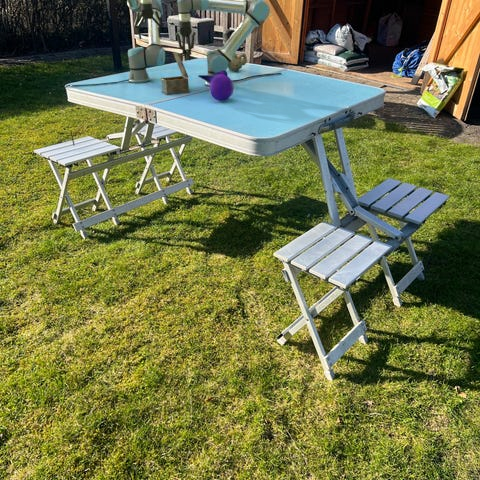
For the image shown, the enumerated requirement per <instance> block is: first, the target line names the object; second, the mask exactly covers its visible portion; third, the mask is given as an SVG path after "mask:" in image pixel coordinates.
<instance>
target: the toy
mask: <svg viewBox="0 0 480 480" xmlns="http://www.w3.org/2000/svg"><path fill="white" fill-rule="evenodd" d="M198 77H199V78H200V79H202V80H204V81H205V82H206V81H208V82H209V83H210V86H209V92H210V95H211V97H212V98H213V99H214V100H217V101H220V102H225V101H227V100H229V99H230V97H232V95H233V94H234V90H235V89H234V82H232V80H233V79H232V78H231V77H229V75H228V73H227V70H226V71H224V70H223V71H220V72H217V74H216V76H210V75H208V74H205V75H204V74H202V75H200V74H199V75H198Z"/></svg>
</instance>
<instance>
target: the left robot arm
mask: <svg viewBox="0 0 480 480" xmlns="http://www.w3.org/2000/svg"><path fill="white" fill-rule="evenodd" d="M126 4H127V6H128V8H129V9H130V10H131V11H132V12H133V13H136V17H135V21H134V23H133V28H134V29H136V34H138V39H139V40H142V33H141V28H140V27H141V25H142V24H143V22H144V20H147V31H148V32H147V33H148V45H147V46H146V48H144V47H143V46H138V47H132V48H130V49H128V50H127V56H128V57H127V58H128V64H129V65H128V66H129V76H128V79H124V80H120V81H113V82H101V83H90V84H89V83H88V84H67V85H65V87H64V89H67V87H87V86H101V85H110V84H111V85H112V84H119V83H124V82H129V83H133V84H141V83H148V82H150V76H149V74H148V71H147V67H160V66H163V65H165V61H166V49H165V48H163V45H162V44H161V35H162V34H161V33H162V31H163V30H162V27H163V26H164V23H163V21H162V18H161V17H162V15H163V14H164V10H163V5H162V0H126ZM140 16H141V18H140ZM139 19H140V20H139ZM70 85H72V86H70ZM69 131H70V136H71V140H72V146H75V141H74V136H73V132H72V130H69Z"/></svg>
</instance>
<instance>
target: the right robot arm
mask: <svg viewBox="0 0 480 480" xmlns="http://www.w3.org/2000/svg"><path fill="white" fill-rule="evenodd" d="M176 2H177V13H178V21H179V22H178V27H179V30H178V32H176V33H175V36H176V37H177V43H178V47H179V49H180V50H182V53H183V54H182V55H184V54H186V51H188V52H190V54H187V55H185V56H183V59H184V61H185V62H187V61H191V56H192V50H193V49H195V48H194V47H195V36H196V34H197V33H196V32H195V31H193V29H192V21H191V11H211V12H220V13H221V12H222V13H229V14H238V15H242V16H243V17H244V19H243V20H242V21H241V22H240V24H239V25H238V27H236V29H235V31H233V33H232V34H231V35H230V37H229V38H228V39H227V40H226V42H225V43H224V44H223V46H222V47H219V48H218V49H216V50H207V51H206V63H207V64H206V65H207V75H210V76H216V74H217V72H220V71H223V70H224V71H226V72H227V69H228V65H229V64H230V62H231V61H232V56H233V55H234V53H235V54H236V52H237V51H238V50H239V48H240V47H241V46H242V45H243V43H244V42H245V41H246V40H247V39H248V37H249V36H250V34H251V33H252V32H253V31H254V29H255V28H256V27H260V26H261V24H262V23H263V22H264V21H266V20H267V19H268V18H269V16H270V13H271V9H270V6H269V4H268V2H266V1H265V0H177V1H176ZM186 41H187V49H186ZM275 75H282V72H275V73H265V74H255V75H251V76H247V77H244V78H240V79H231V80H232V82H233V83H235V82H241V81H244V80H247V79H251V78H256V77H267V76H275ZM205 86H206V87H210V83H209V82H208V81H206V80H205Z"/></svg>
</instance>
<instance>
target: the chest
mask: <svg viewBox="0 0 480 480" xmlns="http://www.w3.org/2000/svg"><path fill="white" fill-rule="evenodd" d="M160 79H161V87H162V88H161V89H162V93H164V94H165V95H167V96H168V95H179V94H185V93H186V94H187V93H190V87H189V77H188V78H186V77H184V76H183V75H180V76H169V77H161V78H160Z"/></svg>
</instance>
